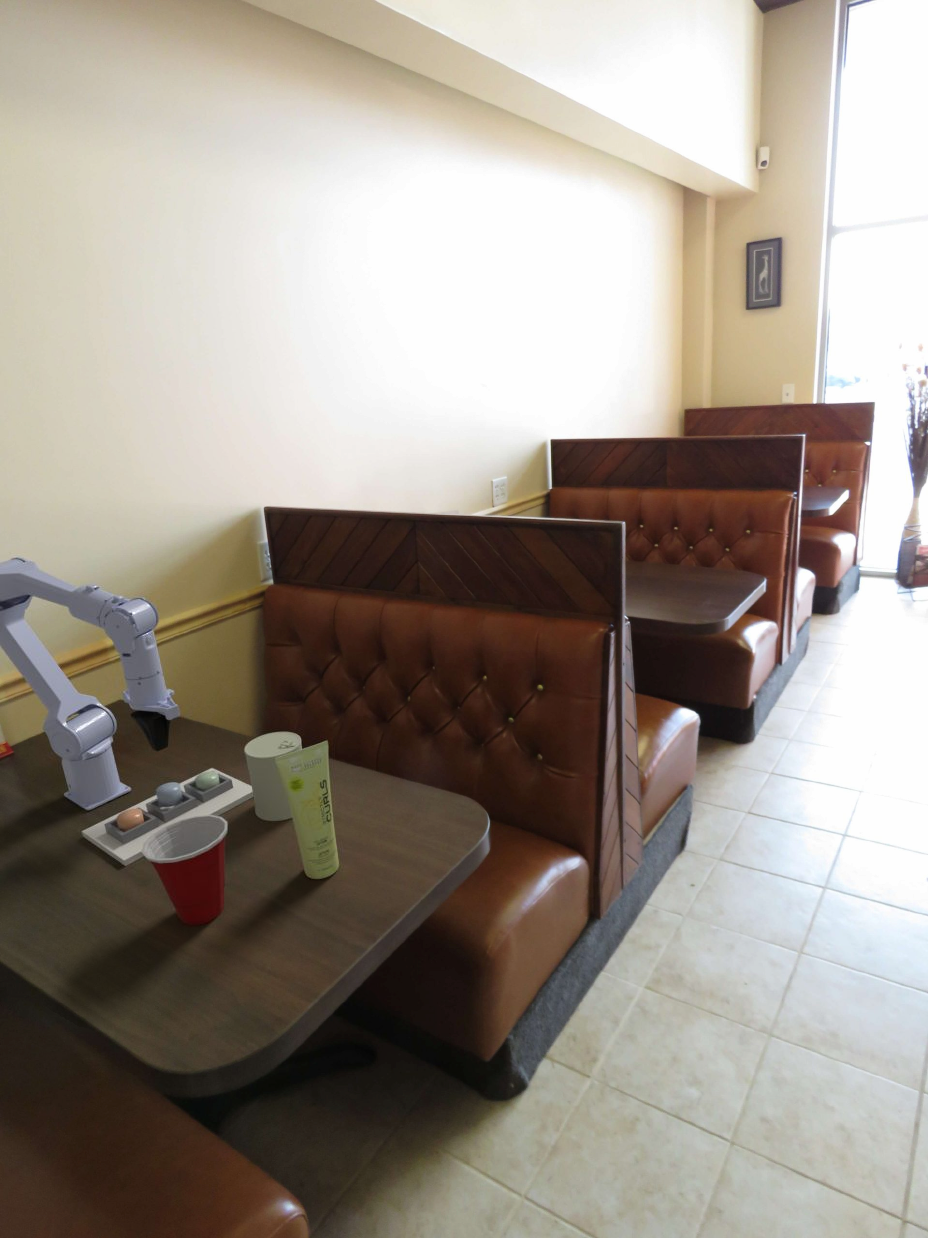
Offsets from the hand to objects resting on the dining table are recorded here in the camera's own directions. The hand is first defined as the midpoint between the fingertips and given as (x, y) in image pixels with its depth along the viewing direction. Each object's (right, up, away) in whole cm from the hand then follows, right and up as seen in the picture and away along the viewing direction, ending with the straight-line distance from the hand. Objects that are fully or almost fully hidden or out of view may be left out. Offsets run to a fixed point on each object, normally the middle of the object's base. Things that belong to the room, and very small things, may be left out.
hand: (160, 748), depth 126 cm
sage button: (+7, -8, +4) cm, 11 cm away
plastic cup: (+16, -18, -25) cm, 34 cm away
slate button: (+2, -9, -2) cm, 9 cm away
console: (+2, -11, -1) cm, 11 cm away
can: (+21, -10, -1) cm, 23 cm away
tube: (+30, -14, -18) cm, 38 cm away
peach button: (-2, -12, -6) cm, 13 cm away
